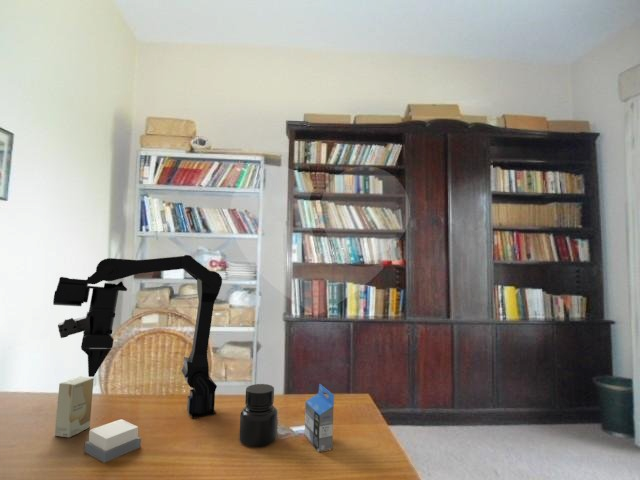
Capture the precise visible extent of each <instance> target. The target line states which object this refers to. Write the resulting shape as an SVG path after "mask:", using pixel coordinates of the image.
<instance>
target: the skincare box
mask: <svg viewBox="0 0 640 480" xmlns="http://www.w3.org/2000/svg"><path fill="white" fill-rule="evenodd" d="M93 389H94V377H89V376H78V377H76V378H72V379H71V378H70V379H68V380H66V381H63V382H60V383H59V385H58V395H57V406H56V407H57V408H56V416H55V427H54V436H55V437H56V436H57V437H61V438H62V437H63V438H71V437H73V436H75V435H77V434H80V433H81V432H83V431H84V430H87V429H89V428H90V427H91V415H92V403H93V393H94V392H93Z"/></svg>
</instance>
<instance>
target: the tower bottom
mask: <svg viewBox="0 0 640 480" xmlns="http://www.w3.org/2000/svg"><path fill="white" fill-rule="evenodd" d="M141 444H142V437H139V436H138V437H137V439H134V440H132V441H129V442H127V443H124V444H122V445H120V446H117V447H115V448H112V449H110V450H107V451H104V450H103V449H101V448H99V447H97V446H95V445H94V444H92V443H90V442H89V440H87V441H85V442H84V451H83V452H84V453H85V454H88V455H89V456H91V457H93V458H95V459H96V460H98V461H100V462H102V463H104V464H105V463H108V462H110V461H112V460H115V459H116V458H119V457H121V456H124V455H125V454H128V453H130V452H132V451H135V450H138V449H140V448H141V446H142V445H141Z"/></svg>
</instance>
